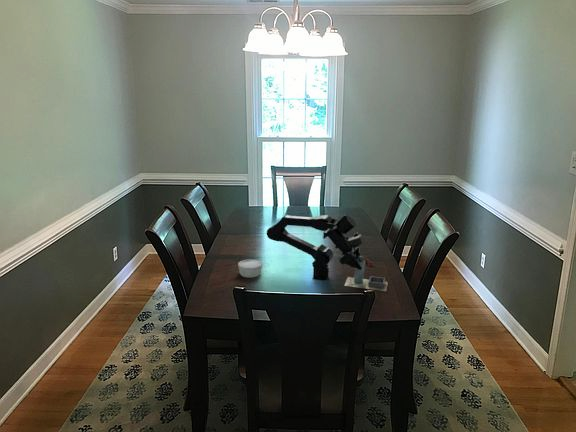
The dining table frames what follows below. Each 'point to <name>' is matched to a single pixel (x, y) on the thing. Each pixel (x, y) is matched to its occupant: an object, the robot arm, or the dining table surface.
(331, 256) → the robot arm
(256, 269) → the ramekin
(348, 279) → the board
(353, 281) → the pad
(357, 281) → the capped bottle
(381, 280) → the gray square frame
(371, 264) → the pliers
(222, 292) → the dining table surface
